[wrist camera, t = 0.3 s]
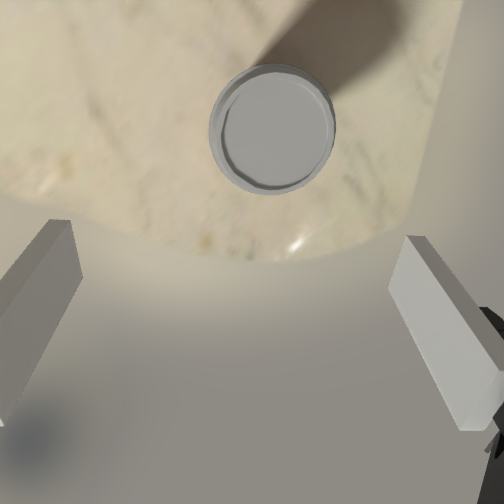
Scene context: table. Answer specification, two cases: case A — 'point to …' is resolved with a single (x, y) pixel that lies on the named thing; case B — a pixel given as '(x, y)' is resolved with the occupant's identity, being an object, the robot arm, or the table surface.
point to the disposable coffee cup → (272, 129)
